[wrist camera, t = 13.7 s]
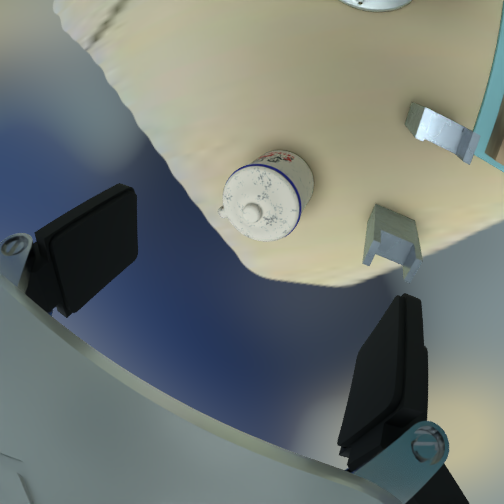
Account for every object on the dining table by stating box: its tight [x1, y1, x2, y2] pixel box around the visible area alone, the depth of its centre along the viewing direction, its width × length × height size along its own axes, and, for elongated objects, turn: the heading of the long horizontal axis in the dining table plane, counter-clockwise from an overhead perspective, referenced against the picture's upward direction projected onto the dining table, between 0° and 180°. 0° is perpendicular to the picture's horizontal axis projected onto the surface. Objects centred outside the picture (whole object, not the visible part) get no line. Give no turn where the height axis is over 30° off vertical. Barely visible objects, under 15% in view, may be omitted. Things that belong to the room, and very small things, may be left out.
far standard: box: [362, 204, 423, 283], centre depth 33 cm, size 3×6×10 cm, turn 78°
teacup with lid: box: [218, 150, 314, 241], centre depth 36 cm, size 12×9×12 cm
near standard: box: [405, 102, 481, 165], centre depth 25 cm, size 3×6×10 cm, turn 78°
